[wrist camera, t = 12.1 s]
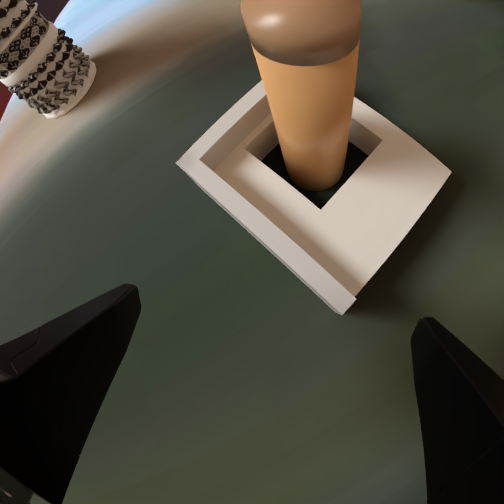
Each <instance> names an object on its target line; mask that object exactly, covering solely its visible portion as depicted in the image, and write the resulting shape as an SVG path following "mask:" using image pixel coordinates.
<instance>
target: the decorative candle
mask: <svg viewBox="0 0 504 504" xmlns="http://www.w3.org/2000/svg"><path fill="white" fill-rule="evenodd" d="M37 5H38V4H37V3H36V1H32V2H28V3H27V2H26V1H25V0H0V81H1V82H2V83H4V84H5V85H6V86H7V88H8V89H9V92H10V93H16V95H17V96H18V98H19V99H24V100H26V102H27V104H28V106H29V107H31V108H34V107H35V109H36V111H37V112H38V113H40V114H42V113H43V114H44V115H45V116H46V117H47V118H48V119H56V118H58V117H60V116H62V115H64V114H66V113H67V112H69V111H70V110H71V109H72V108H73V107H75V106H76V105H77V104H78V103H79V101H80V100H81V99H82V98H83V97H84V96H85V94H86V93H87V92H88V90H89V88H90V87H91V85H92V83H93V81H94V78H95V75H96V71H97V70H96V66H95V63H94V62H92V61H90V60H88V59H89V56H88V55H85V56H84V53H81V52H82V48H81V47H79V48H78V46H77V45H73V44H72V42H73V39H72V38H69V37H67V36H66V37H65V36H64V35H65V31H64V30H61V29H57V28H56V27H55V26H54V25H53V24H52V23H51V22H49V21H47V20H46V19H45V18H44V17H43V16H42V15H41V14H40V13H39V12H38V11H37V10H36V9H37Z"/></svg>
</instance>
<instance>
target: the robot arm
mask: <svg viewBox="0 0 504 504" xmlns="http://www.w3.org/2000/svg"><path fill="white" fill-rule="evenodd" d="M140 312H141V303H140V298H139V292H138V288H137V286H136V285H132V284H123V285H121V286H119V287H116V288H114V289H112V290H110V291H108V292H106V293H104V294H102V295H100V296H98V297H96V298H94V299H92V300H90V301H88V302H86V303H84V304H82V305H80V306H79V307H77V308H75V309H73V310H71V311H69V312H67V313H65V314H63V315H61V316H59V317H57V318H55V319H53V320H51V321H49V322H47V323H45V324H43V325H42V326H41V327H38V328H36V329H34V330H32V331H30V332H28V333H26V334H24V335H22V336H20V337H18V338H16V339H13V340H11V341H9V342H7V343H4V344H2V345H0V504H30V503H29V502H30V500H31V498H32V496H33V494H35V495H36V496H38V497H40V498H41V499H43V500H45V501H46V502H48V503H50V504H62V502H63V499H64V496H65V494H66V491H67V488H68V486H69V483H70V480H71V478H72V475H73V472H74V470H75V467H76V465H77V462H78V460H79V457H80V456H79V455H80V454H81V452H82V449H83V447H84V444H85V442H86V439H87V437H88V435H89V432H90V430H91V428H92V425H93V423H94V421H95V418H96V416H97V414H98V411H99V409H100V407H101V405H102V402H103V400H104V398H105V396H106V393H107V391H108V389H109V387H110V385H111V383H112V380H113V378H114V376H115V374H116V372H117V370H118V368H119V365H120V363H121V361H122V359H123V357H124V355H125V353H126V351H127V348H128V345H129V343H130V340H131V337H132V334H133V331H134V329H135V326H136V323H137V320H138V318H139V315H140ZM411 350H412V361H413V373H414V384H415V390H416V396H417V402H418V409H419V416H420V423H421V430H422V439H423V448H424V458H425V469H426V484H427V498H428V499H427V504H504V380H503V379H501V377H500V376H499V375H497V374H496V373H495V372H494V371H493V370H492V369H491V368H490V367H489V366H488V365H487V364H486V363H484V362H483V361H482V360H481V359H480V358H479V357H478V356H477V355H476V354H474V353H473V352H472V351H471V350H470V349H469V348H468V347H467V346H465V345H464V344H463V343H462V342H461V341H460V340H459V339H458V338H456V337H455V336H454V335H453V334H452V333H451V332H449V331H448V330H447V329H446V328H445V327H444V326H442V325H441V324H440V323H439V322H438V321H437V320H435V319H434V318H433V317H421V318H420V319H419V321H418V323H417V325H416V327H415V330H414V332H413V334H412V337H411Z"/></svg>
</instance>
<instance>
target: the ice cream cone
mask: <svg viewBox="0 0 504 504" xmlns="http://www.w3.org/2000/svg"><path fill="white" fill-rule="evenodd" d="M361 8H362V4H361V0H242V1H241V4H240V10H241V14H242V17H243V20H244V23H245V26H246V29H247V32H248V35H249V38H250V42H251V45H252V48H253V51H254V54H255V58H256V61H257V64H258V68H259V71H260V74H261V78H262V81H263V85H264V88H265V92H266V95H267V99H268V102H269V106H270V109H271V113H272V117H273V120H274V124H275V128H276V131H277V135H278V139H279V143H280V147H281V150H282V154H283V158H284V162H285V166H286V170H287V173H288V175H289V177H290V179H291V180H292V181H293V182H294V183H295V184H296V185H297V186H299V187H300V188H303V189H305V190H309V191H323V190H326V189H329V188H331V187H332V186H334V185H335V184H336V183H337V182H338V181H339V180H340V178H341V176H342V174H343V171H344V165H345V159H346V152H347V146H348V139H349V132H350V124H351V117H352V109H353V101H354V92H355V83H356V73H357V63H358V52H359V40H360V25H361Z"/></svg>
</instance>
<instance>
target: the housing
mask: <svg viewBox="0 0 504 504" xmlns="http://www.w3.org/2000/svg"><path fill="white" fill-rule="evenodd" d="M348 140H349V141H350V142H351V143H353V144H354V145H355V146H357V147H358V148H359V149H361V150H362V151H363V152H365V153H366V154H367V155H368V158H367V159H366V160H365V161H364V162H363V163H362V164H361V165H360V167H359V168H358V169H357V170H356V171H355V172H354V173H353V174H352V176H351V177H350V178H349V179H348V180H347V181H346V182H345V183H344V185H343V186H342V187H341V188H340V189H339V190H338V191H337V192H336V193H335V195H334V196H333V197H332V198H331V199H330V200H329V201H328V202H327V203H326V204H325V206H324V207H323V208H322V209H321V210H320V209H319V208H318V207H317V206H315V205H314V204H313V203H312V202H311V201H309V200H308V199H307V198H306V197H305V196H303V195H302V194H301V193H300V192H299V191H297V190H296V189H295V188H294V187H292V186H291V185H290V184H289V183H287V182H286V181H285V180H284V179H282V178H281V177H280V176H279V175H277V174H276V173H275V172H274V171H272V170H271V169H270V168H269V167H267V166H266V165H265V164H263V163H262V162H261V161H262V160H263V159H264V158H265V157H266V156H267V155H268V154H269V153H270V152H271V151H272V150H273V149H274V148H275V147H276V146H277V145H278V144H279V139H278V135H277V131H276V128H275V124H274V120H273V117H272V113H271V109H270V106H269V102H268V99H267V95H266V92H265V88H264V85H263V81H260V82H259V83H258V84H257V85H256V86H255V87H254V88H252V89H251V90H250V91H249V92H248V93H247V94H246V95H245V96H244V97H242V98H241V99H240V100H239V101H238V102H237V103H236V104H235V105H234V106H233V107H232V108H230V109H229V110H228V111H227V112H226V113H225V114H224V115H223V116H222V117H221V118H220V119H219V120H218V121H217V122H216V123H215V124H214V125H213V126H212V127H211V128H210V129H209V130H207V131H206V132H205V133H204V134H203V135H202V136H201V137H200V138H199V139H198V140H197V141H196V142H195V143H194V145H193V146H192V147H191V148H190V149H189V150H188V151H187V152H186V153H185V154H184V155H183V156H182V157H181V158H180V159H179V160H178V161H177V162H176V164H177V165H178V166H179V167H180V168H181V169H182V170H183V171H184V172H185V173H186V174H187V175H188V176H189V177H190V178H191V179H192V180H193V181H194V182H195V183H196V184H197V185H198V186H199V187H200V188H201V189H202V190H203V191H204V192H205V193H206V194H207V195H209V196H210V197H211V198H212V199H213V200H214V201H215V202H216V203H217V204H218V205H220V206H221V207H222V208H223V209H224V210H225V211H226V212H227V213H228V214H229V215H231V216H232V217H233V218H234V219H235V220H236V221H237V222H238V223H239V224H240V225H241V226H243V227H244V228H245V229H246V230H247V231H248V232H249V233H250V234H251V235H252V236H254V237H255V238H256V239H257V240H258V241H259V242H260V243H261V244H262V245H263V246H264V247H266V248H267V249H268V250H269V251H270V252H271V253H272V254H273V255H274V256H275V257H276V258H277V259H279V260H280V261H281V262H282V263H283V264H284V265H285V266H286V267H287V268H288V269H289V270H290V271H292V272H293V273H294V274H295V275H296V276H297V277H298V278H299V279H300V280H301V281H302V282H303V283H304V284H306V285H307V286H308V287H309V288H310V289H311V290H312V291H313V292H314V293H315V294H316V295H317V296H318V297H320V298H321V299H322V300H323V301H324V302H325V303H326V304H327V305H328V306H329V307H330V308H331V309H332V310H333V311H335V312H336V313H338V314H341V315H343V314H344V313H345V311H346V310H347V309H348V308H349V307H350V306H351V305H352V304H353V303H354V301H355V300H356V298H355V296H356V295H357V293H358V292H359V291H360V290H361V289H362V288H363V287H364V285H365V284H366V283H367V282H368V281H369V280H370V278H371V277H372V276H373V275H374V274H375V273H376V271H377V270H378V269H379V268H380V267H381V265H382V264H383V263H384V262H385V261H386V259H387V258H388V257H389V256H390V254H391V253H392V252H393V251H394V250H395V248H396V247H397V246H398V245H399V243H400V242H401V241H402V239H403V238H404V237H405V236H406V234H407V233H408V232H409V230H410V229H411V228H412V227H413V225H414V224H415V223H416V221H417V220H418V219H419V217H420V216H421V215H422V213H423V212H424V211H425V209H426V208H427V206H428V205H429V204H430V202H431V201H432V200H433V198H434V197H435V195H436V194H437V193H438V191H439V190H440V188H441V187H442V185H443V184H444V183H445V181H446V180H447V178H448V177H449V175H450V174H451V171H450V170H449V169H448V168H447V167H446V166H445V165H444V164H442V163H441V162H440V161H439V160H438V159H437V158H436V157H434V156H433V155H432V154H431V153H430V152H428V151H427V150H426V149H425V148H424V147H422V146H421V145H420V144H419V143H417V142H416V141H415V140H414V139H412V138H411V137H410V136H409V135H407V134H406V133H405V132H403V131H402V130H401V129H399V128H398V127H397V126H395V125H394V124H393V123H391V122H390V121H389V120H387V119H386V118H384V117H383V116H382V115H380V114H379V113H377V112H376V111H375V110H373V109H372V108H370V107H369V106H367V105H366V104H364V103H363V102H361V101H360V100H358V99H357V98H355V97H354V101H353V109H352V117H351V124H350V132H349V139H348Z"/></svg>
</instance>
